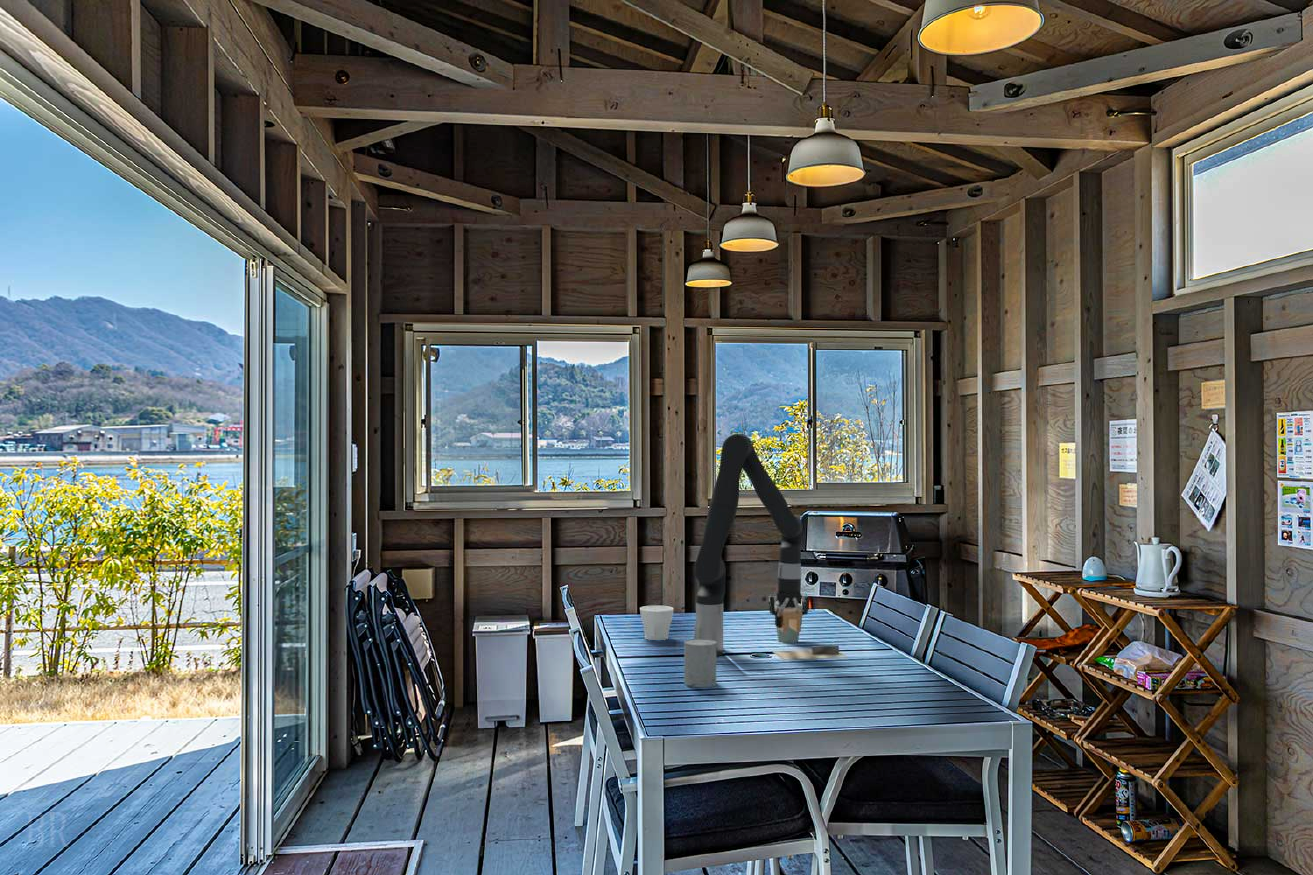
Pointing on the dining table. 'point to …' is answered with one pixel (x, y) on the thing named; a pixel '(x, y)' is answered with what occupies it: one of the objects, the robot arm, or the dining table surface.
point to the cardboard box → (790, 620)
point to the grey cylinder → (700, 662)
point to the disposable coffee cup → (791, 634)
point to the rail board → (812, 653)
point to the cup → (656, 621)
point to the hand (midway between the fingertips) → (788, 627)
